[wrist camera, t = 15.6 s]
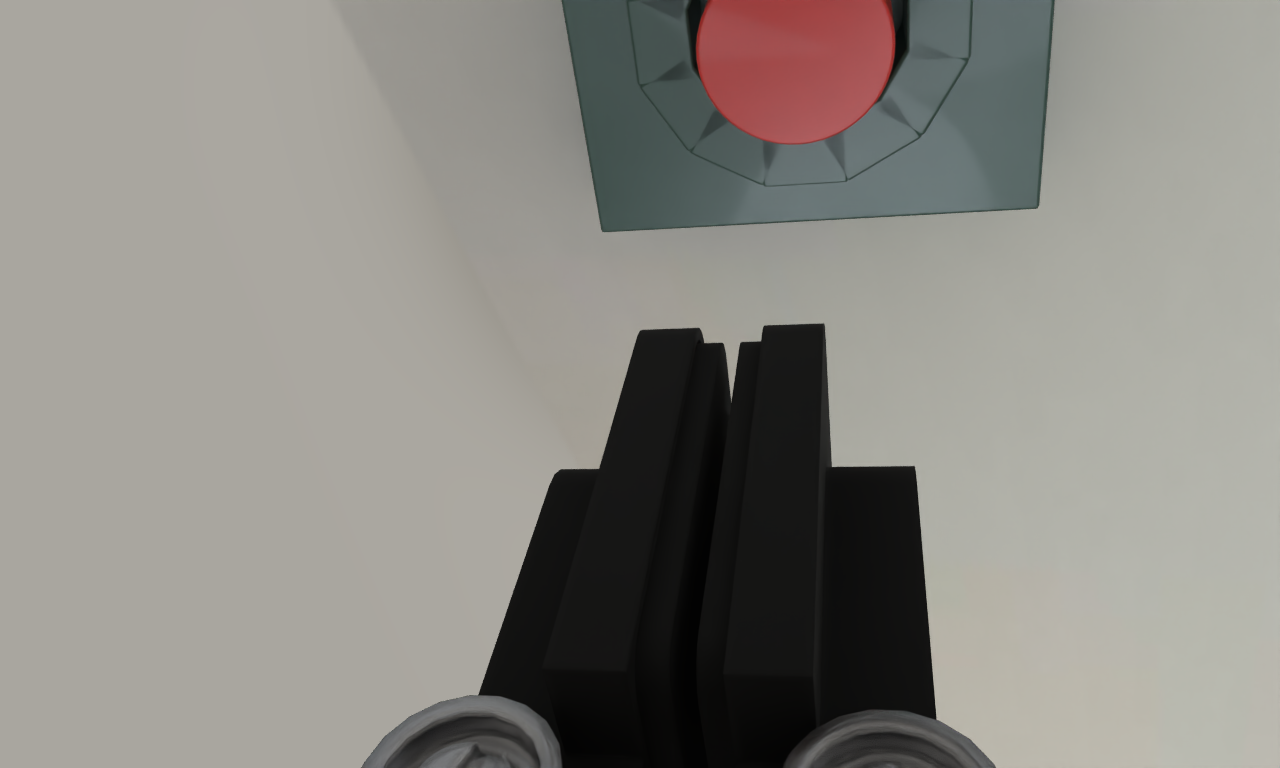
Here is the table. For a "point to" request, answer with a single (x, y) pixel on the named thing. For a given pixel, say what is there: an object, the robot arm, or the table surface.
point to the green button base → (824, 170)
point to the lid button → (795, 64)
